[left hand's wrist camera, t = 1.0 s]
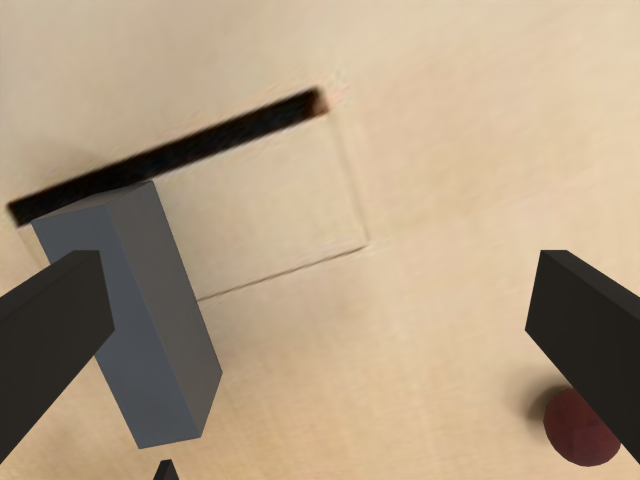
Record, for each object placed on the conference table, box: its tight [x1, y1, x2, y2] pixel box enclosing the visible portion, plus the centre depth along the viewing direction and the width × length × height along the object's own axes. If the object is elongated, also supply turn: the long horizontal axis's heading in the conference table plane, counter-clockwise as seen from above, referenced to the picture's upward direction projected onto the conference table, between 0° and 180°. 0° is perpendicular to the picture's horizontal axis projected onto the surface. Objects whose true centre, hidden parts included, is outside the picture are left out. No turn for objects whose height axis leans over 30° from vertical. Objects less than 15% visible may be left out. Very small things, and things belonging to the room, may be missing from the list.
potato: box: [543, 389, 621, 467], centre depth 44 cm, size 7×8×7 cm
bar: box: [31, 181, 222, 449], centre depth 38 cm, size 22×6×9 cm, turn 13°
